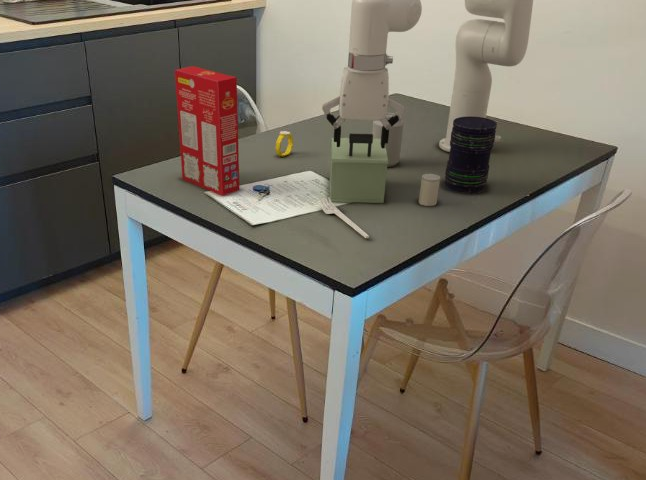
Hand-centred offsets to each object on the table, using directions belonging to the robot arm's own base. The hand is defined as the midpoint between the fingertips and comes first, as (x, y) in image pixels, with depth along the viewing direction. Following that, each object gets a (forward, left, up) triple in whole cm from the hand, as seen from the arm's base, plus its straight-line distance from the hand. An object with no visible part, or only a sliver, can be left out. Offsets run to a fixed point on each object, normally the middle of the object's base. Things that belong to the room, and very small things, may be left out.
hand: (360, 145), depth 152 cm
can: (-8, -26, -13) cm, 30 cm away
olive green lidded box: (0, -6, -12) cm, 14 cm away
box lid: (0, -5, -3) cm, 6 cm away
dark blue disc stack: (-26, -11, -13) cm, 31 cm away
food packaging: (+34, -7, -13) cm, 37 cm away
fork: (+3, +12, -13) cm, 18 cm away
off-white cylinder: (-16, 0, -12) cm, 20 cm away
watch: (+18, -30, -13) cm, 37 cm away
